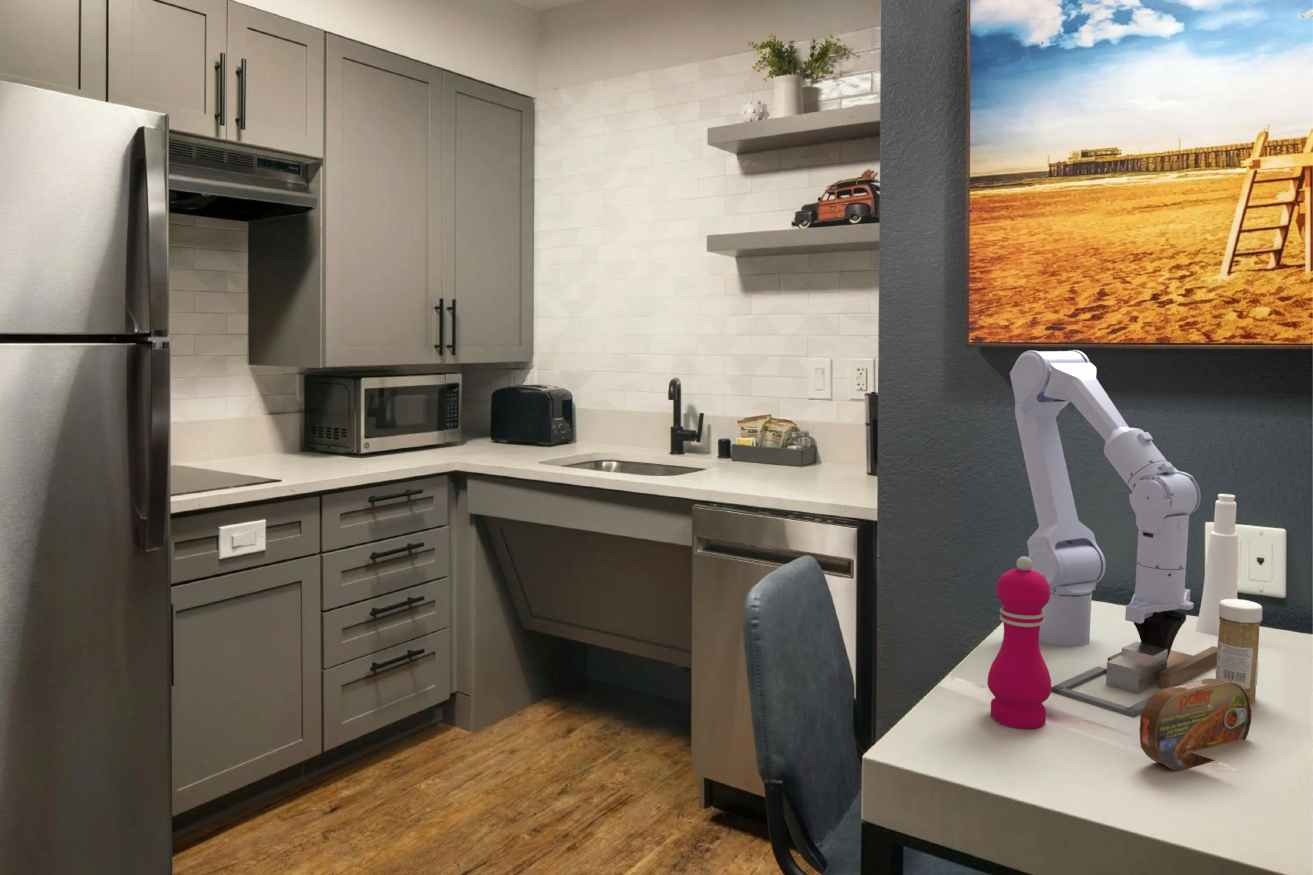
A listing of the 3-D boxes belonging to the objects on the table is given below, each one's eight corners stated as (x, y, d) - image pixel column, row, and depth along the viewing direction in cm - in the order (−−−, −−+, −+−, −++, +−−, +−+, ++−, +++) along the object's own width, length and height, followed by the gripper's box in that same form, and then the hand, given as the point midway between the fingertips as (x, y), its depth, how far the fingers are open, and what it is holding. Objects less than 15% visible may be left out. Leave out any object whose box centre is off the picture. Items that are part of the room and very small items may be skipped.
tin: (1156, 777, 100) (1161, 700, 99) (1131, 764, 103) (1135, 689, 102) (1252, 752, 106) (1257, 679, 105) (1225, 741, 109) (1230, 669, 108)
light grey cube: (1105, 691, 122) (1106, 661, 122) (1121, 684, 125) (1122, 654, 124) (1137, 700, 119) (1138, 670, 119) (1152, 692, 122) (1153, 662, 121)
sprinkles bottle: (1262, 710, 118) (1270, 604, 116) (1244, 718, 115) (1251, 610, 114) (1223, 698, 121) (1230, 595, 120) (1205, 706, 119) (1212, 601, 117)
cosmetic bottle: (1230, 644, 142) (1240, 499, 140) (1187, 635, 147) (1196, 494, 144) (1246, 637, 146) (1256, 495, 143) (1204, 627, 151) (1213, 490, 148)
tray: (1049, 702, 120) (1050, 687, 120) (1097, 680, 128) (1098, 666, 127) (1133, 729, 112) (1134, 712, 112) (1179, 703, 120) (1180, 688, 119)
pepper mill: (1048, 711, 117) (1055, 552, 115) (1051, 734, 110) (1059, 565, 108) (986, 703, 120) (992, 547, 117) (985, 726, 113) (992, 561, 111)
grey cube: (1120, 677, 125) (1121, 647, 124) (1135, 669, 127) (1136, 641, 127) (1151, 686, 122) (1153, 655, 121) (1166, 678, 124) (1167, 648, 123)
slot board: (1106, 683, 127) (1107, 657, 126) (1160, 657, 137) (1162, 633, 136) (1169, 701, 120) (1170, 674, 120) (1221, 673, 130) (1222, 648, 130)
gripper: (1168, 579, 117) (1162, 686, 119) (1216, 561, 126) (1210, 661, 128) (1111, 568, 123) (1106, 670, 124) (1161, 552, 132) (1156, 647, 133)
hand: (1155, 665), depth 126 cm, fingers closed
